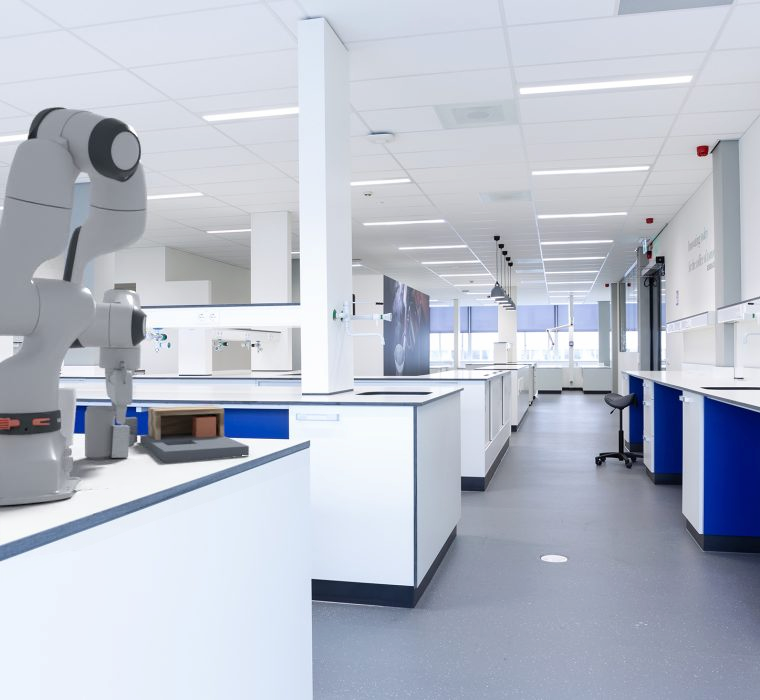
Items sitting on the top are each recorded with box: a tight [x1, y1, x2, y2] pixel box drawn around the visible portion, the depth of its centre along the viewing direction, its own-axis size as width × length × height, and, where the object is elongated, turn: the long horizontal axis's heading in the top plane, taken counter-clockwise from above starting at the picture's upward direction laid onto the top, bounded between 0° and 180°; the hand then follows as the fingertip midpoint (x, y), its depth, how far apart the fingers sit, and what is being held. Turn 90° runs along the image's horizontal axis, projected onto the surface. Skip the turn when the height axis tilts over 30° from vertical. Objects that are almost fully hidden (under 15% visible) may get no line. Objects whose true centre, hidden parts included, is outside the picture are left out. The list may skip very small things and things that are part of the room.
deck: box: [139, 433, 250, 464], centre depth 173 cm, size 34×19×2 cm, turn 28°
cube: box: [192, 415, 216, 437], centre depth 182 cm, size 5×5×5 cm
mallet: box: [120, 416, 138, 444], centre depth 188 cm, size 14×4×7 cm, turn 28°
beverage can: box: [84, 405, 116, 461], centre depth 161 cm, size 6×6×12 cm
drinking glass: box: [58, 387, 77, 447], centre depth 179 cm, size 7×7×15 cm
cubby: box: [147, 404, 225, 440], centre depth 183 cm, size 12×17×7 cm
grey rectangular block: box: [110, 424, 135, 459], centre depth 169 cm, size 21×8×7 cm, turn 29°
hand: (118, 420), depth 160 cm, fingers open, 8 cm apart
